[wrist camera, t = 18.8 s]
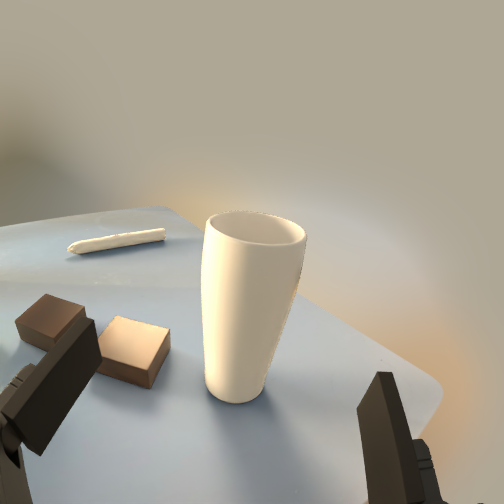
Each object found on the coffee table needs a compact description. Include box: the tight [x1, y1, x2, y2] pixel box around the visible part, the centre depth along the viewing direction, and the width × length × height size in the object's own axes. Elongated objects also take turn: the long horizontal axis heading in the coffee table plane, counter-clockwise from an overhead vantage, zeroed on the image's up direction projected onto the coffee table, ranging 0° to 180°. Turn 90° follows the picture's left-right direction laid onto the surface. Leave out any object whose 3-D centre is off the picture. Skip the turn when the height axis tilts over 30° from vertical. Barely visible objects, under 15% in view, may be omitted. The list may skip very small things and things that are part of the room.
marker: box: [67, 229, 166, 254], centre depth 48 cm, size 18×2×2 cm, turn 130°
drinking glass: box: [201, 211, 307, 403], centre depth 23 cm, size 7×7×15 cm
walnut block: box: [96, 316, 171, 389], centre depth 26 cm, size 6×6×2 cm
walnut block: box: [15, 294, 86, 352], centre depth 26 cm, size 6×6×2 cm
